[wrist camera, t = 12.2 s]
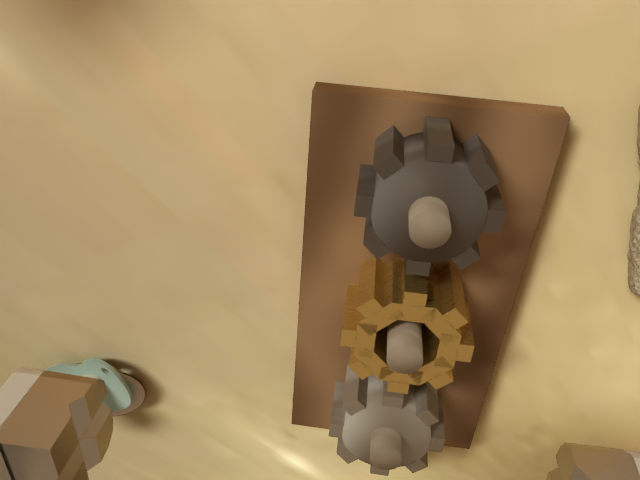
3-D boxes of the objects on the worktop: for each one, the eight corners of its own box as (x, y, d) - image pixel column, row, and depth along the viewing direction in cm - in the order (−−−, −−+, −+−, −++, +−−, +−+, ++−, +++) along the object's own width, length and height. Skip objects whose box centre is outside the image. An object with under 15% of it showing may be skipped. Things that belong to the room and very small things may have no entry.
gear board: (562, 107, 28) (602, 160, 22) (467, 431, 40) (477, 518, 34) (316, 81, 29) (296, 127, 23) (294, 407, 41) (278, 488, 35)
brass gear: (477, 256, 31) (486, 301, 28) (453, 350, 34) (459, 401, 31) (352, 242, 31) (346, 284, 28) (342, 336, 35) (335, 384, 32)
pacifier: (164, 400, 42) (124, 340, 39) (131, 475, 37) (83, 413, 34) (81, 414, 44) (37, 358, 41) (39, 487, 39) (-15, 429, 36)
